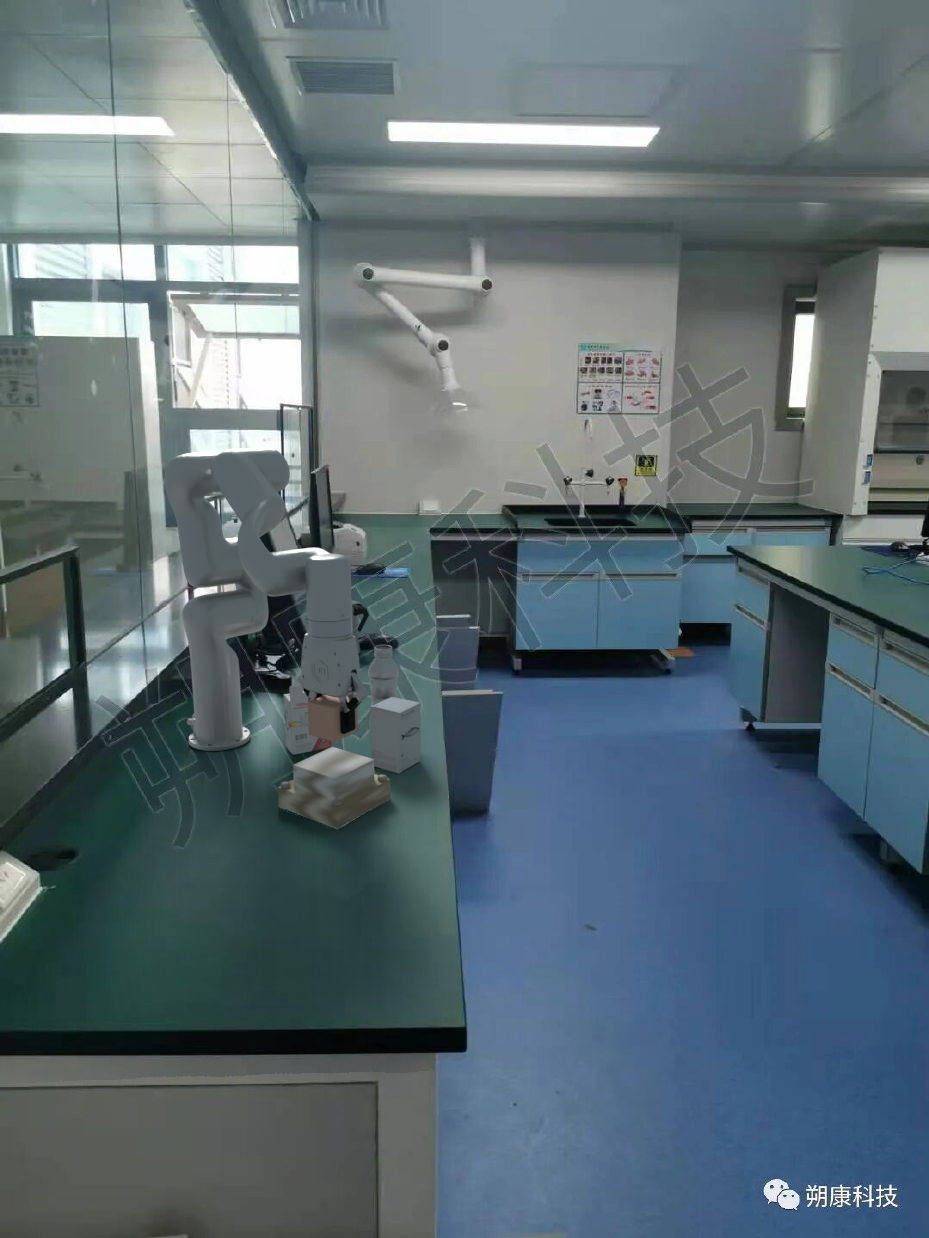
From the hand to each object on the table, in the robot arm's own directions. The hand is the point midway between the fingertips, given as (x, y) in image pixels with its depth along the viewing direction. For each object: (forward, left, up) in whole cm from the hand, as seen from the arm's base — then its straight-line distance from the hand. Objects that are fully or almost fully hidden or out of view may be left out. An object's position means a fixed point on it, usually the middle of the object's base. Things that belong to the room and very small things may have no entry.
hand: (333, 726), depth 146 cm
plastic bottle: (-13, +30, -15) cm, 36 cm away
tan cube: (0, 0, -1) cm, 1 cm away
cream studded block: (0, 0, -15) cm, 15 cm away
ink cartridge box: (-22, +16, -15) cm, 31 cm away
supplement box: (-2, +20, -15) cm, 25 cm away
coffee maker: (-62, +74, -15) cm, 98 cm away
